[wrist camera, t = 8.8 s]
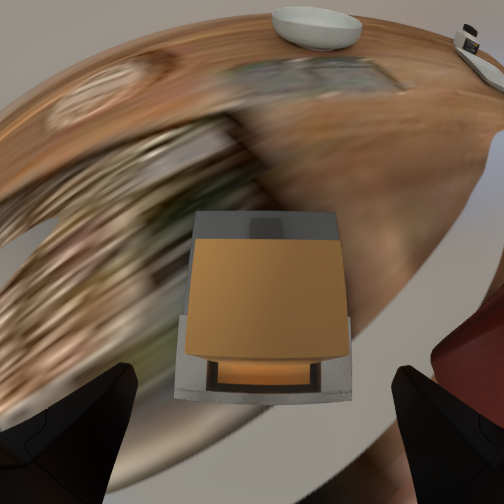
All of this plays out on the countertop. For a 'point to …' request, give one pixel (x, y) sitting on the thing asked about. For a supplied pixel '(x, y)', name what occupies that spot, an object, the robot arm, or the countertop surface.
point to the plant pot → (476, 360)
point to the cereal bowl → (316, 27)
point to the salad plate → (483, 69)
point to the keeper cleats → (201, 389)
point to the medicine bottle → (467, 39)
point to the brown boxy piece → (267, 305)
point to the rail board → (238, 227)
